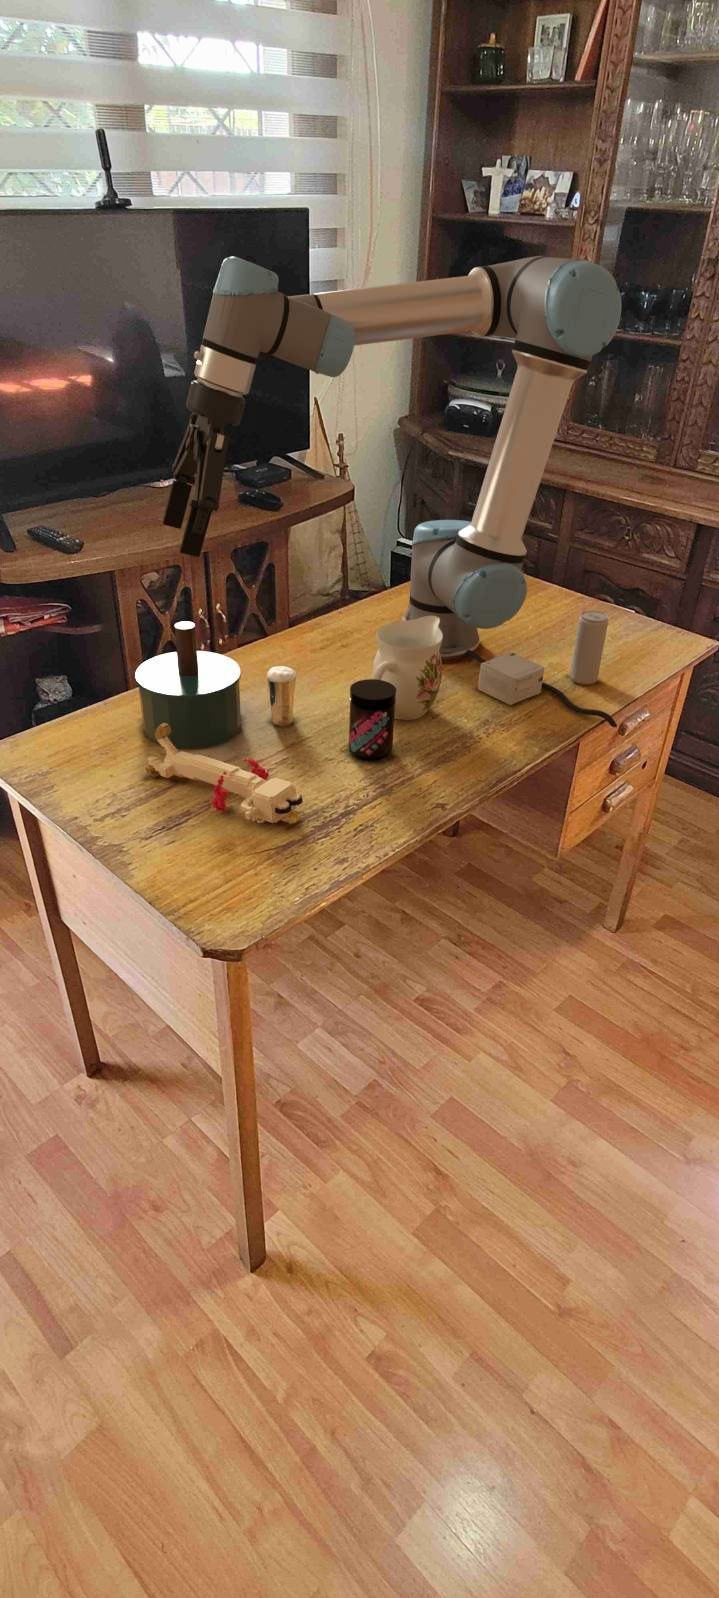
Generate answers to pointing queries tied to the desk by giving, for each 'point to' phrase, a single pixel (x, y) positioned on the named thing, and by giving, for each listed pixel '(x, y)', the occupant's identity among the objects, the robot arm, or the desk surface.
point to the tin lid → (187, 670)
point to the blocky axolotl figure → (230, 782)
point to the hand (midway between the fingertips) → (180, 539)
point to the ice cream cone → (281, 694)
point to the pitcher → (410, 663)
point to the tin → (193, 717)
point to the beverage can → (588, 647)
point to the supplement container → (371, 719)
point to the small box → (510, 678)
